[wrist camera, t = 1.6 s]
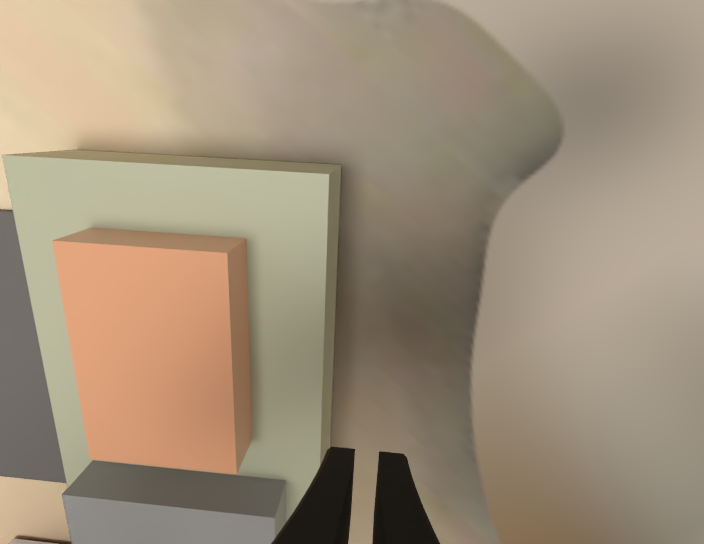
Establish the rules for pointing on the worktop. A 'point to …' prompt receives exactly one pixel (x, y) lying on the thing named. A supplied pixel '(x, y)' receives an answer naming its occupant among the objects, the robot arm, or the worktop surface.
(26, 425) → the mat
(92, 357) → the peach rectangular tile
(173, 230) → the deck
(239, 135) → the worktop surface
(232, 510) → the slate gray rectangular block
